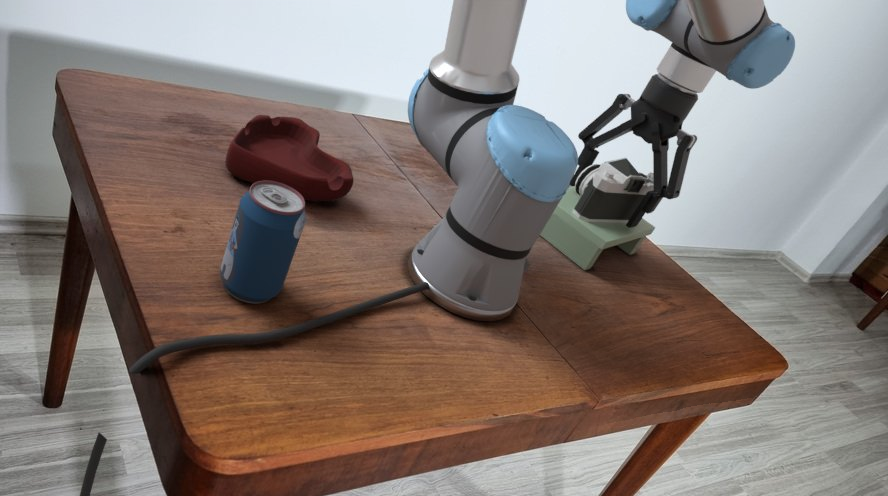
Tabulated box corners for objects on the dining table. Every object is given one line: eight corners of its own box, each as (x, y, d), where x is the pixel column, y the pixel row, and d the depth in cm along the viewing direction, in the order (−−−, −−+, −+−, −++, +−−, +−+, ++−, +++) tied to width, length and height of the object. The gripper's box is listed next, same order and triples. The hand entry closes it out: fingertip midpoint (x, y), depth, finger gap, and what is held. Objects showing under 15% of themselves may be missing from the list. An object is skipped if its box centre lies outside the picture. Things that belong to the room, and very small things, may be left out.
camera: (612, 197, 125) (643, 147, 120) (646, 226, 120) (680, 175, 115) (551, 193, 116) (582, 140, 110) (585, 224, 111) (619, 170, 105)
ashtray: (198, 139, 100) (205, 107, 97) (297, 145, 110) (307, 116, 107) (249, 213, 90) (259, 179, 87) (353, 211, 100) (365, 181, 97)
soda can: (291, 293, 80) (324, 205, 73) (251, 316, 74) (282, 222, 68) (246, 260, 82) (273, 171, 75) (203, 280, 76) (229, 185, 70)
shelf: (586, 272, 111) (606, 242, 108) (522, 221, 118) (539, 191, 115) (636, 255, 124) (655, 227, 121) (575, 209, 131) (592, 182, 127)
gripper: (755, 123, 103) (670, 243, 114) (625, 48, 114) (559, 164, 125) (737, 125, 97) (650, 250, 109) (603, 45, 108) (537, 167, 120)
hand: (601, 204), depth 117 cm, fingers open, 11 cm apart
